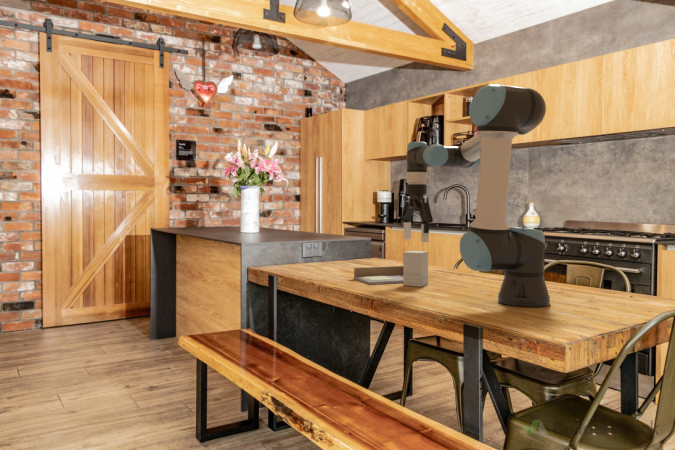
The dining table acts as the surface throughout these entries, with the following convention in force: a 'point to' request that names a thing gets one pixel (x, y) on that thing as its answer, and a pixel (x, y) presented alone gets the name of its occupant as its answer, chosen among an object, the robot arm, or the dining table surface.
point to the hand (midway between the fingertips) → (415, 240)
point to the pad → (378, 278)
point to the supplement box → (415, 268)
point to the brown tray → (379, 274)
